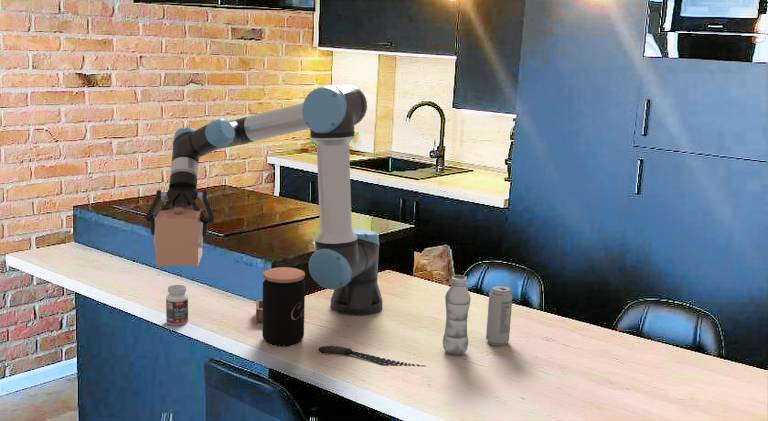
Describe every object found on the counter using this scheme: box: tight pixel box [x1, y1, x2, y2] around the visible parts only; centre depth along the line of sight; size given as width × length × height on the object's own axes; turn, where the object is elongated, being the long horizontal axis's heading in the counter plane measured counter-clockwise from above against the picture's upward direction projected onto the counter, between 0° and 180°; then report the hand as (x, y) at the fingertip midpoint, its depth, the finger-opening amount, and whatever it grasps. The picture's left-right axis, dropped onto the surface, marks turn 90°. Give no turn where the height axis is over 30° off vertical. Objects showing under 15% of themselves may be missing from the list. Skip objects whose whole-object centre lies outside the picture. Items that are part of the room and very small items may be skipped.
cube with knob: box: [154, 206, 203, 267], centre depth 217 cm, size 11×11×15 cm
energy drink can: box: [485, 284, 513, 347], centre depth 210 cm, size 6×6×15 cm
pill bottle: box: [165, 284, 189, 326], centre depth 216 cm, size 6×6×10 cm
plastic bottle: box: [442, 274, 472, 356], centre depth 202 cm, size 6×7×20 cm
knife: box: [318, 345, 425, 367], centre depth 197 cm, size 28×2×5 cm
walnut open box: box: [255, 299, 263, 324], centre depth 222 cm, size 10×8×4 cm
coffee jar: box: [261, 266, 306, 347], centre depth 206 cm, size 11×11×18 cm
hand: (178, 245), depth 215 cm, fingers closed on cube with knob, 11 cm apart
